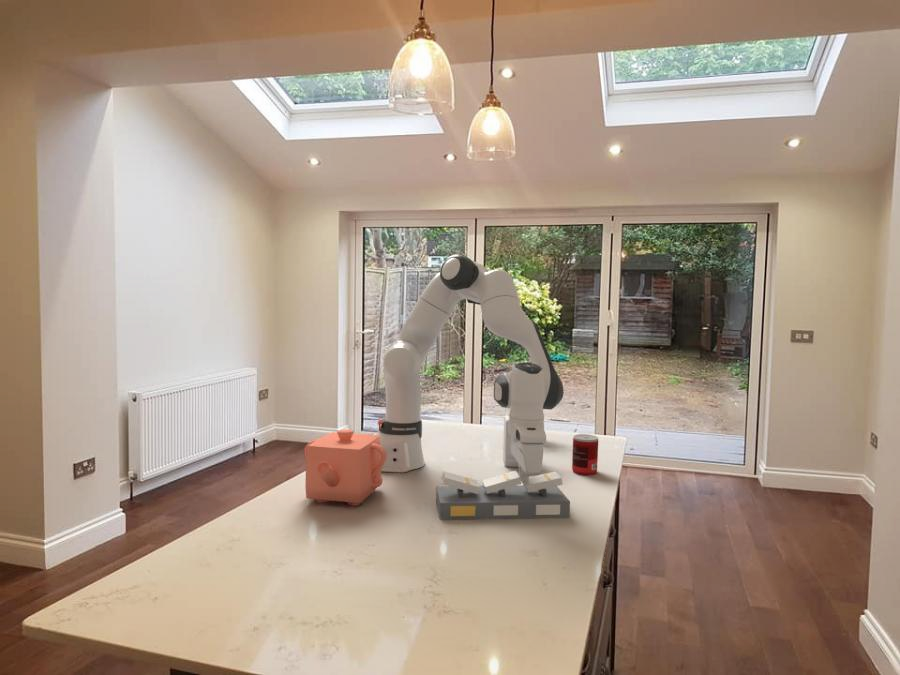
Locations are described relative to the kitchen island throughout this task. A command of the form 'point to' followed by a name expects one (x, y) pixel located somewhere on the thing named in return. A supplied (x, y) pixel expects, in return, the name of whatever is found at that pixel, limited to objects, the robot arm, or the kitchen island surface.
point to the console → (501, 503)
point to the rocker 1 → (460, 482)
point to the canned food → (585, 454)
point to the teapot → (343, 467)
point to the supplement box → (508, 446)
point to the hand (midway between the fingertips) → (523, 481)
